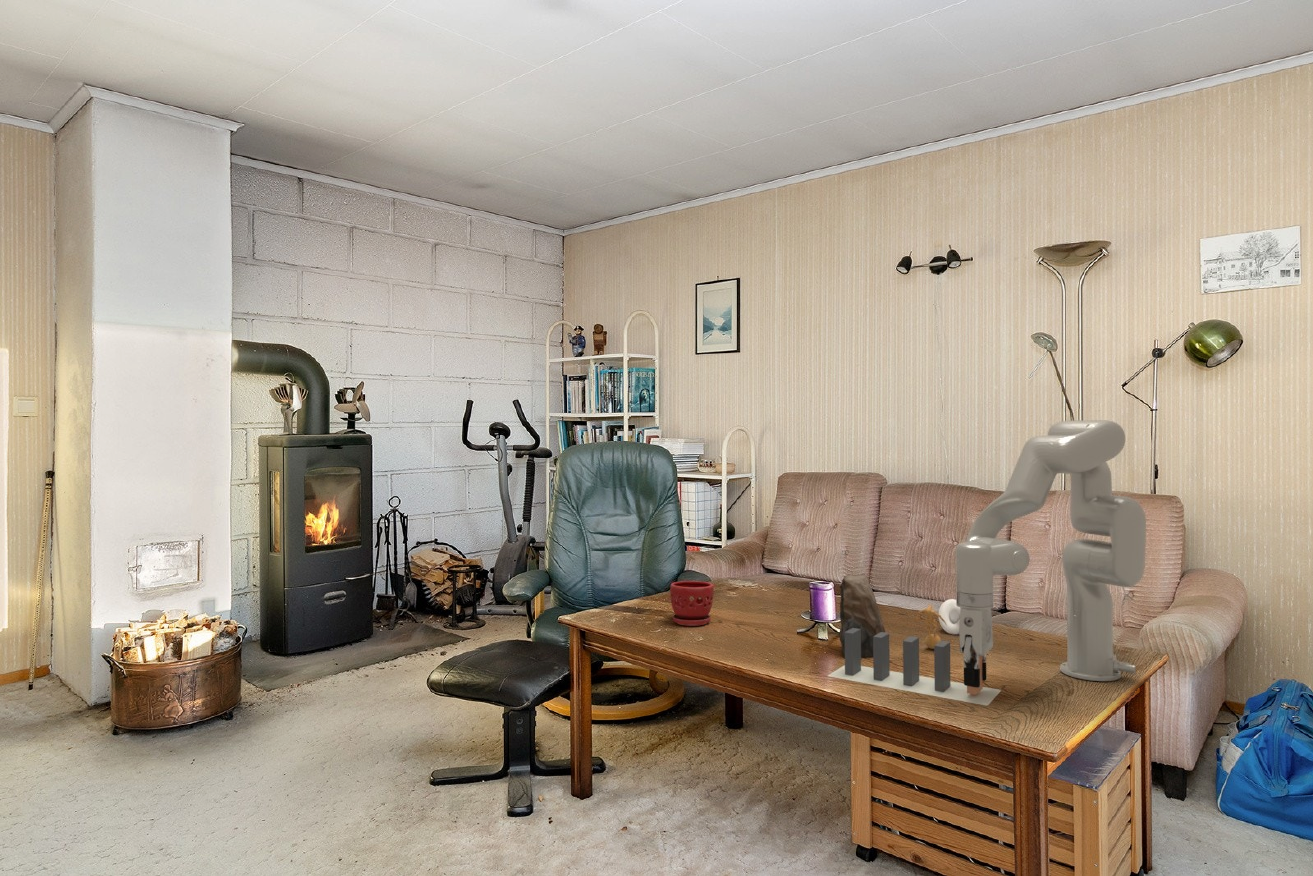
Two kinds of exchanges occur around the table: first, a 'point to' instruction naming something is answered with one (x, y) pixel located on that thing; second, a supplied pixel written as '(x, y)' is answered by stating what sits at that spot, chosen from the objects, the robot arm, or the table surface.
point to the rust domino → (974, 689)
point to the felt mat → (920, 686)
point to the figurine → (931, 638)
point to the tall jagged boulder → (859, 612)
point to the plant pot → (691, 602)
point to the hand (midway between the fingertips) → (975, 682)
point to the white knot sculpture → (954, 618)
